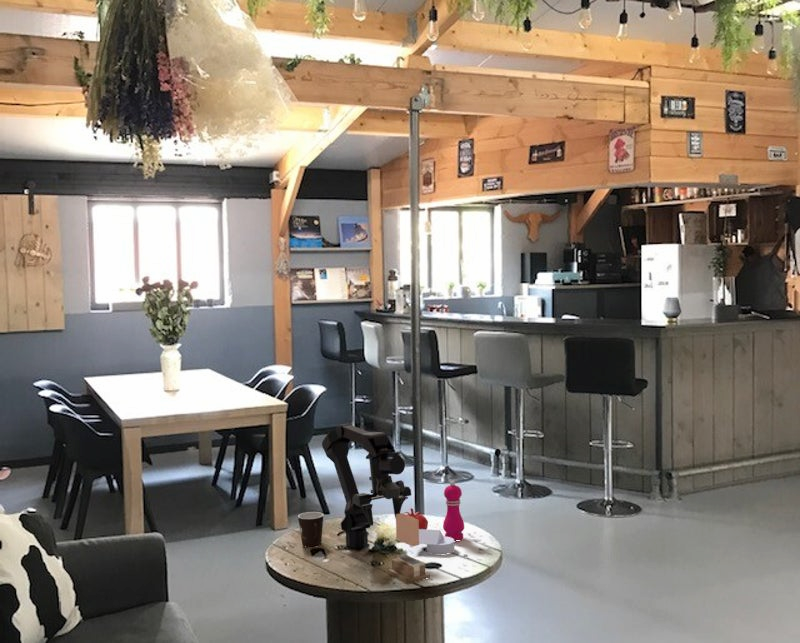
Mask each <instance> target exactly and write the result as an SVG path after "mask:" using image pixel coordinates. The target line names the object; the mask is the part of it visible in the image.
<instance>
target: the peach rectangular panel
mask: <svg viewBox="0 0 800 643" xmlns="http://www.w3.org/2000/svg"><path fill="white" fill-rule="evenodd" d="M406 514H407V513H404V512H400V514H396V518H395V525H396V526H395V527H396V528H395V532H396V533H395V534H396V540H399V541H400V542H402V543H405V545H408V546H411V547H417V546H420V544H419V520H418V519H415V518H413V517H411V516H408V515H406Z"/></svg>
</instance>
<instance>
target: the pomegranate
mask: <svg viewBox="0 0 800 643" xmlns="http://www.w3.org/2000/svg"><path fill="white" fill-rule="evenodd" d="M409 510H410V512H408V511H406V512H405V511H404V512H403V513H404V514H406V515H408V516H411V517H413V518H415V519H418V520H419V529H426V530H428V523H429V522H428V519H427V518H426V516H424V515H423V514H422V513H419V511H417V512H414V508H412V507H411V508H410V509H409Z"/></svg>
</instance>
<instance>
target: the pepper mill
mask: <svg viewBox="0 0 800 643" xmlns="http://www.w3.org/2000/svg"><path fill="white" fill-rule="evenodd" d="M462 495H463V493H462V489H461V488H460V486H459V485H456V481H454V480H451V481H450V482H449V485H448V486H446V487H445V489H444V491H443V496H444V498H445V505H446V508H447V509H446V515H445V518H444V519H443V523H442V524H443V526H442V528H443V530H444V532H445V533H444V536H446V537H451V538H453V539H454V541H456V540H461V541H463V540H464V533H463V531H464V529H465V523H464V520H463V517H462V514H461V512H460V505H461V499H460V498H462ZM462 539H463V540H462Z"/></svg>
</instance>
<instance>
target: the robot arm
mask: <svg viewBox="0 0 800 643" xmlns="http://www.w3.org/2000/svg"><path fill="white" fill-rule="evenodd" d="M351 442H354V443H357V444H359V445H361V446H362V449H363V450H364V451H366V452H367V453H368V454H366V456H365V459H366V460H369V461H368V462H369V469H370V476H369V481H371V489H370V493H365V492H362V493H360V492H359V490H358V486H357V483H356V480H355V477H354V475H353V470H352V468H351V464H350V461H349V459H348V455H349V450H350V446H349V444H350V443H351ZM321 447H322V448H323V449H322V450H324V453H325V456H326V457H327V458H328V459H329V460H330V461H331V462H333V465H334V468H335V472H336V474H337V477H338V481H339V484H340V487H341V490H342V494H343V495H344V499H345V507H344V511H343V512H344V518H343V519H342V521H341V522H340V527H341V531H343V532H345V546H343V549H345V550H352V551H358V552H359V551H362V550H364V549H365V548H368V547H369V546H370V543H369V540H368V539H369V538H368V537H369V536H368V533H367V529H370V528H371V526H374V516H373V510H372V509H373V506H374V505H373V504H372V501H374V500H379V499H386V500H392V506H393V513H394V518H395V519H396V514H400V513H401V511H402V507H403V504H404V503H405V501H406V500H407V499H409V497H410V496H412V489H411V488H410V487H409V486H405V482H404V481H403V480H396V481H394V482H393V479H392V475H397V476H398V475H401V474H402V473H403V472H404V471H405V467H406V461H405V460H404V459H403V457H401V455H400V454H399V452H398V451H396V450H395V447H394V445H393V444H392V442H391V440H390V438H389V436H388V435H387V433H385V432H381V431H378V432H377V431H373V432H370V431H367V430H365V429H362V428H360V427H356V426H355V425H353V424H351V423H343V424H339V425H337V426H336V427H335V429H334V430H332V431H330V432H329V433H328V434H326V436H325V437H324V439H323V440H322V442H321Z"/></svg>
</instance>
